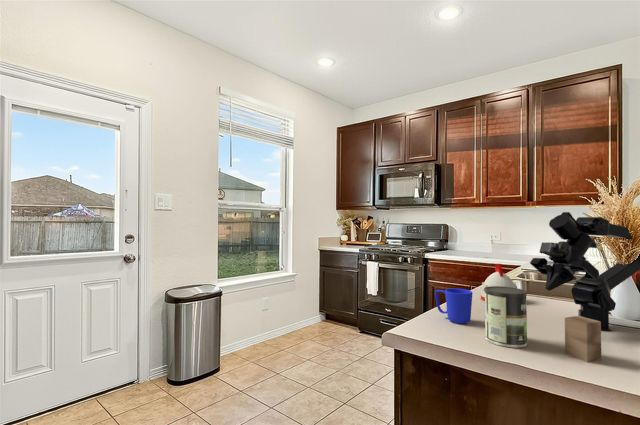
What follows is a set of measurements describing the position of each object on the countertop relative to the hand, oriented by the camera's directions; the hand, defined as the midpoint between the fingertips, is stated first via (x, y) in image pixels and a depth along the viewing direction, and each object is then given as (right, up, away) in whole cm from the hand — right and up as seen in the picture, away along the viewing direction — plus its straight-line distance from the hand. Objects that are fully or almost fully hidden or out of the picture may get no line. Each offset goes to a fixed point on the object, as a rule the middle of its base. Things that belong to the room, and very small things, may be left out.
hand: (547, 289), depth 98 cm
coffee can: (-17, -13, -7) cm, 22 cm away
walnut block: (-4, -12, -18) cm, 22 cm away
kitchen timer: (+6, -14, +38) cm, 40 cm away
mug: (-24, -13, +11) cm, 29 cm away
